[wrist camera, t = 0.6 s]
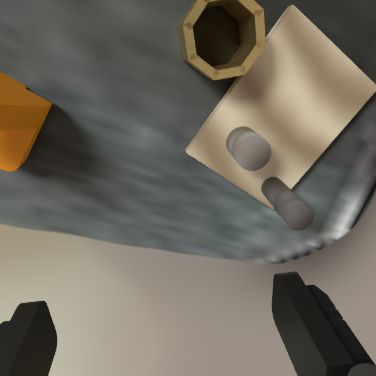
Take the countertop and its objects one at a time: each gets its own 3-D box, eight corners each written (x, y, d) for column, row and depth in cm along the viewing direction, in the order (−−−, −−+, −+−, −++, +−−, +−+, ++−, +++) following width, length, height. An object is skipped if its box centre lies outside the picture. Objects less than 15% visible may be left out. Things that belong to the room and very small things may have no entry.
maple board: (287, 6, 28) (337, -9, 21) (370, 86, 32) (438, 97, 25) (185, 149, 33) (196, 179, 25) (269, 205, 36) (300, 245, 29)
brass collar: (206, -19, 27) (218, -33, 22) (260, 29, 29) (281, 25, 24) (165, 46, 29) (168, 45, 24) (219, 87, 31) (231, 93, 26)
